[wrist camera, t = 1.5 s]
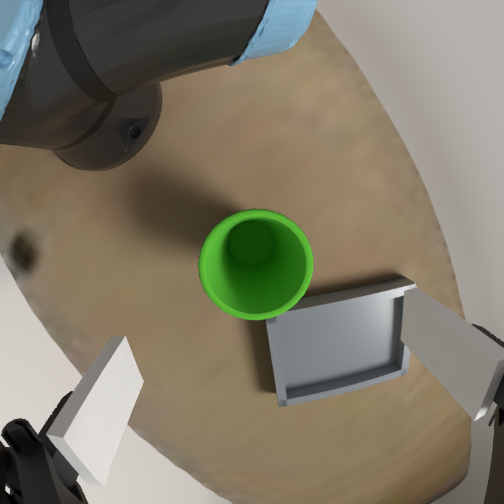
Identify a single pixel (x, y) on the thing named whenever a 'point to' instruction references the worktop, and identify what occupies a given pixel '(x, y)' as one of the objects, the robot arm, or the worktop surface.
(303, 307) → the grey tray
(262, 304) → the cup
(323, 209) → the worktop surface
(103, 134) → the robot arm
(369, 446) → the worktop surface
